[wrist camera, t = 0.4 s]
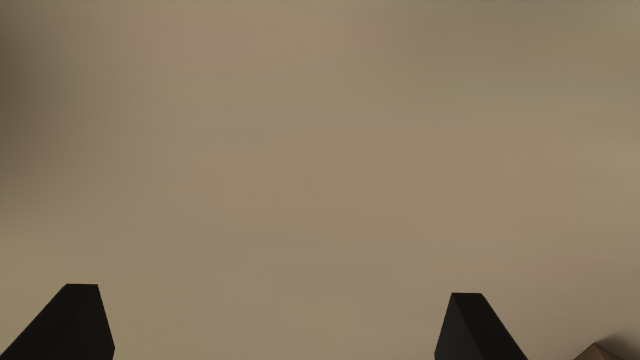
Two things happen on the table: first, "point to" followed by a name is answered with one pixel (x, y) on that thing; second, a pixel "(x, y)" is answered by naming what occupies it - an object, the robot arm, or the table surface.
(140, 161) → the table surface
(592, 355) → the board
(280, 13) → the table surface
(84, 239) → the table surface
